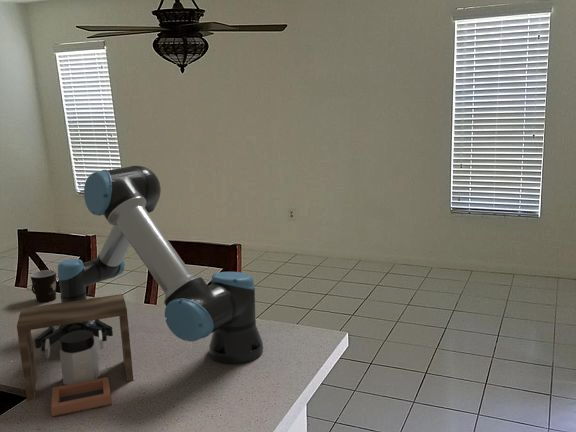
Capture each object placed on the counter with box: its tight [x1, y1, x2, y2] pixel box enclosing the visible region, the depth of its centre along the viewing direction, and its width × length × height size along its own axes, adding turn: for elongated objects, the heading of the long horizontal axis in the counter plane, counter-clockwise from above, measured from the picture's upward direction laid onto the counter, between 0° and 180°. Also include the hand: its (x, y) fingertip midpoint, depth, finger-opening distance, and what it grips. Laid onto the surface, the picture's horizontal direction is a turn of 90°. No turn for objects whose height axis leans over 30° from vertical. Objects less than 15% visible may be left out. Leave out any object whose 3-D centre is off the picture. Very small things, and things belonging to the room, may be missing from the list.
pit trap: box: [50, 376, 112, 418], centre depth 132 cm, size 10×13×2 cm
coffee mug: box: [29, 269, 57, 304], centre depth 198 cm, size 12×9×10 cm
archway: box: [16, 293, 134, 402], centre depth 140 cm, size 12×25×20 cm, turn 111°
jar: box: [59, 330, 100, 385], centre depth 141 cm, size 9×8×12 cm
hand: (74, 348), depth 145 cm, fingers open, 13 cm apart
